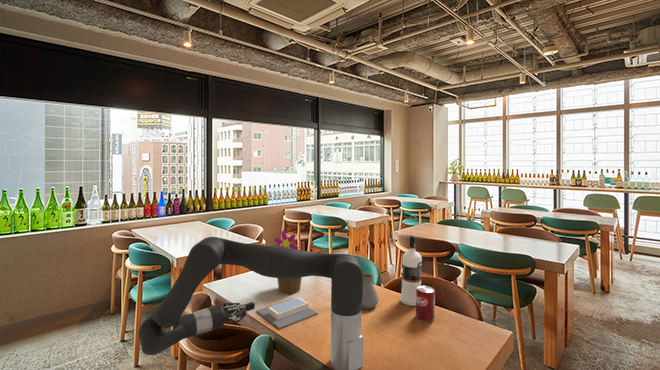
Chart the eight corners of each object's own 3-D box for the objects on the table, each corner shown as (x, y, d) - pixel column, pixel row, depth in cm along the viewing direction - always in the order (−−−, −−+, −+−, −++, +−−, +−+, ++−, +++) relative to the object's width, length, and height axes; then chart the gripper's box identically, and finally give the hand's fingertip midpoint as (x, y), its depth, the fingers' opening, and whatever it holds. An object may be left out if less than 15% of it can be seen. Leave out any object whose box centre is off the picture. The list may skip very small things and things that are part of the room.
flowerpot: (269, 293, 147) (269, 231, 144) (282, 282, 160) (282, 225, 158) (297, 297, 142) (297, 233, 140) (308, 286, 156) (308, 227, 154)
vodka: (410, 296, 145) (411, 232, 143) (426, 303, 138) (428, 236, 136) (395, 300, 140) (397, 235, 138) (411, 308, 133) (413, 239, 130)
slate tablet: (277, 319, 121) (308, 308, 131) (277, 313, 121) (308, 302, 131) (268, 313, 126) (298, 302, 136) (268, 307, 126) (298, 297, 136)
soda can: (421, 323, 120) (422, 293, 119) (411, 314, 127) (412, 286, 126) (438, 321, 122) (439, 291, 121) (427, 312, 129) (428, 284, 128)
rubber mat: (317, 314, 127) (317, 312, 127) (279, 329, 115) (279, 327, 115) (292, 299, 140) (292, 298, 140) (256, 311, 129) (256, 310, 129)
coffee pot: (382, 303, 138) (383, 270, 137) (372, 313, 128) (372, 278, 127) (341, 292, 149) (341, 261, 148) (328, 301, 139) (328, 268, 138)
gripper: (214, 316, 101) (262, 301, 113) (200, 302, 111) (245, 290, 122) (214, 338, 102) (262, 321, 113) (201, 322, 112) (246, 308, 123)
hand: (253, 305), depth 118 cm, fingers closed
